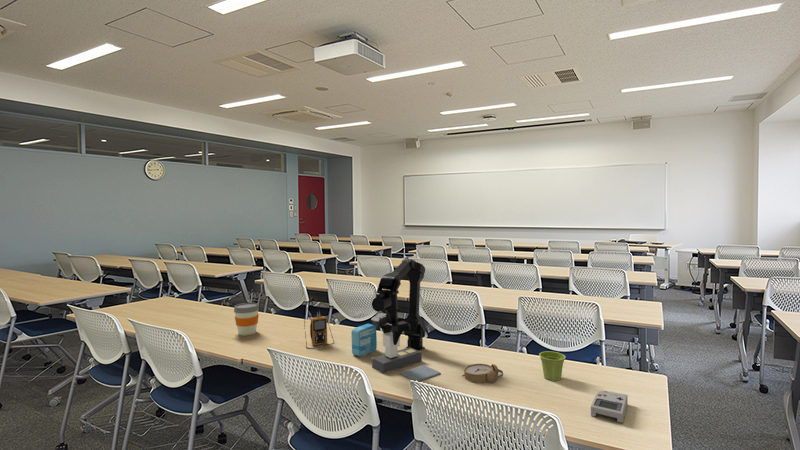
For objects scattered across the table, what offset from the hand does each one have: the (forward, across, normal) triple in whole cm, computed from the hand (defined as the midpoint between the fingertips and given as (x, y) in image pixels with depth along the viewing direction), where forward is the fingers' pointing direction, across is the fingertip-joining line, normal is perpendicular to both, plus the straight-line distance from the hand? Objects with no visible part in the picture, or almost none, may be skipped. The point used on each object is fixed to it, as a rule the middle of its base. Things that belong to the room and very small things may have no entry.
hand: (391, 343), depth 173 cm
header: (+10, 0, +3) cm, 10 cm away
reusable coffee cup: (+10, -88, -32) cm, 94 cm away
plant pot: (+10, +49, +40) cm, 64 cm away
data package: (+10, -21, 0) cm, 23 cm away
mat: (+10, +14, +4) cm, 17 cm away
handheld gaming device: (+10, +75, +32) cm, 82 cm away
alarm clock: (+10, +32, +20) cm, 39 cm away
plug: (+5, 0, 0) cm, 5 cm away
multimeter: (+10, -42, -11) cm, 45 cm away
